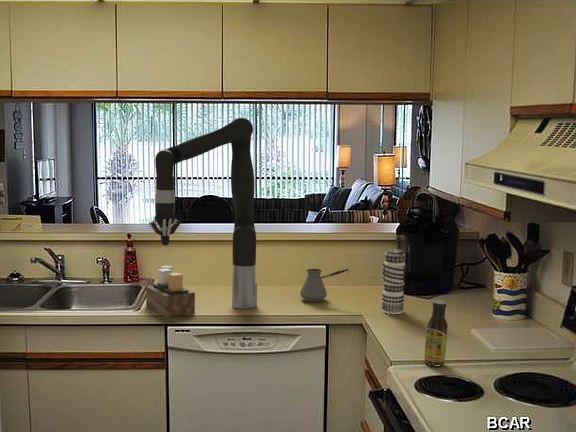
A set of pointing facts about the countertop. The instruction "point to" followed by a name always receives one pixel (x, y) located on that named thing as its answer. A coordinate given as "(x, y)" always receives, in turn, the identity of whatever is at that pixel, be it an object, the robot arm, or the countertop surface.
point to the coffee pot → (315, 285)
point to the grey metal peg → (163, 276)
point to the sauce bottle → (436, 335)
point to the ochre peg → (175, 282)
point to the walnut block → (170, 300)
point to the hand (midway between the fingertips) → (165, 245)
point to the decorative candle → (393, 281)
